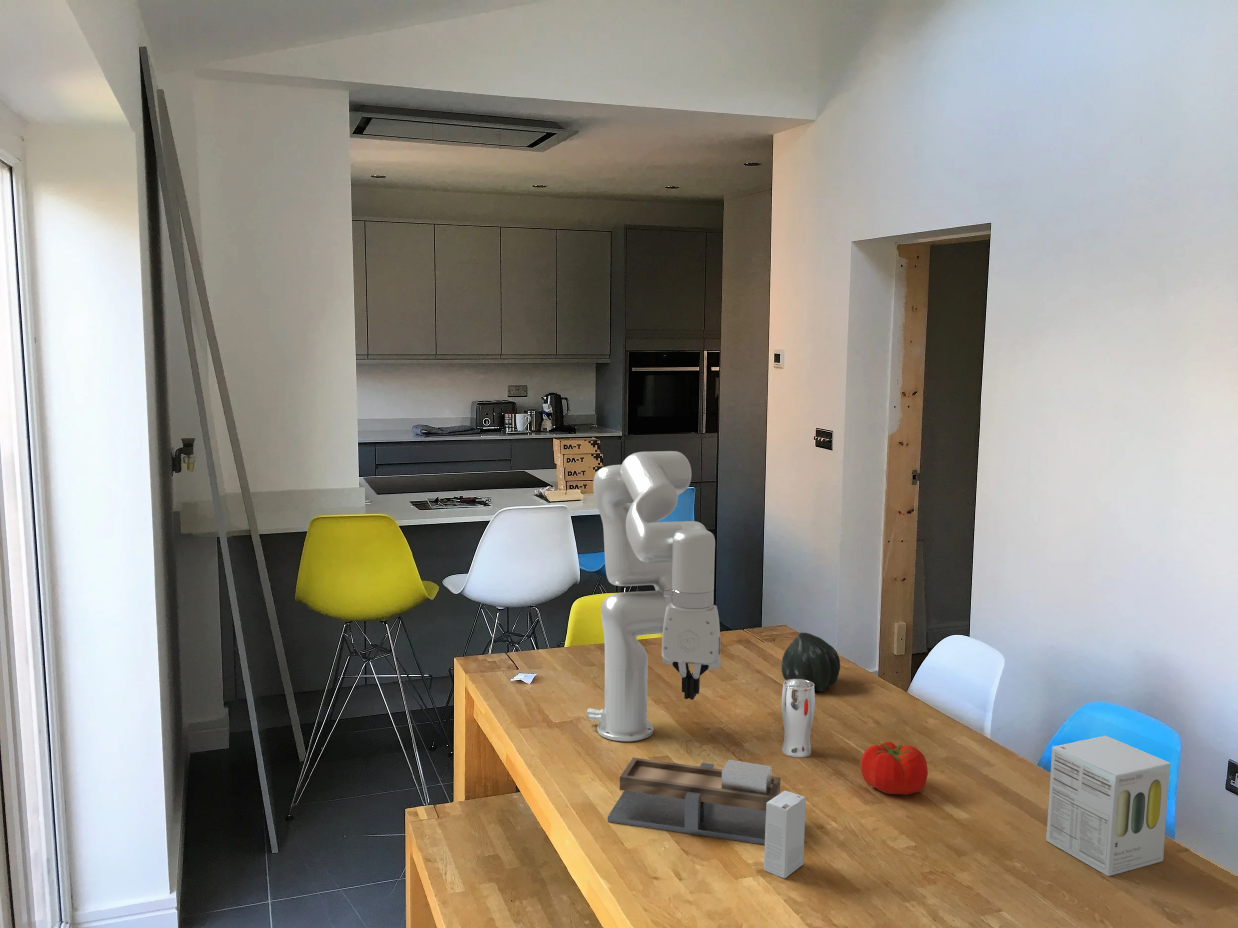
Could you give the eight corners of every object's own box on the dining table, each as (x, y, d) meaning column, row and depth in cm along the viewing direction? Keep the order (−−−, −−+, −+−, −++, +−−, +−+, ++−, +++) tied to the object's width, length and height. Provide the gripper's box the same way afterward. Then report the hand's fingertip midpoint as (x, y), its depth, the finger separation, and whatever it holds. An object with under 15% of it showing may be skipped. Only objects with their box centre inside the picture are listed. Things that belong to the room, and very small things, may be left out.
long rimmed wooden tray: (619, 789, 179) (619, 776, 178) (632, 769, 187) (632, 757, 187) (773, 812, 171) (774, 798, 171) (780, 790, 180) (780, 777, 179)
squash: (858, 665, 251) (822, 616, 255) (838, 683, 238) (800, 632, 242) (818, 692, 258) (783, 645, 262) (796, 711, 245) (760, 661, 249)
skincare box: (781, 856, 165) (783, 788, 164) (805, 865, 163) (807, 796, 161) (762, 871, 161) (764, 800, 159) (786, 880, 158) (788, 809, 156)
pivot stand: (606, 822, 177) (607, 785, 176) (629, 787, 191) (629, 753, 190) (779, 848, 168) (780, 809, 167) (789, 809, 182) (790, 773, 182)
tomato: (928, 779, 196) (929, 738, 195) (926, 806, 184) (928, 763, 183) (863, 770, 200) (864, 730, 199) (857, 796, 188) (858, 753, 187)
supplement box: (1108, 878, 160) (1115, 775, 158) (1044, 841, 172) (1050, 745, 170) (1165, 861, 165) (1173, 762, 163) (1099, 827, 177) (1105, 733, 175)
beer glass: (813, 759, 205) (815, 690, 203) (779, 756, 206) (781, 687, 205) (813, 746, 212) (815, 679, 210) (780, 744, 213) (782, 677, 212)
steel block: (721, 791, 175) (722, 770, 175) (727, 780, 180) (728, 759, 179) (765, 799, 173) (766, 777, 172) (771, 787, 177) (771, 766, 177)
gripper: (647, 600, 174) (645, 699, 176) (730, 607, 170) (727, 708, 172) (657, 589, 181) (655, 685, 184) (737, 596, 177) (734, 694, 179)
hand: (690, 696), depth 178 cm, fingers closed
